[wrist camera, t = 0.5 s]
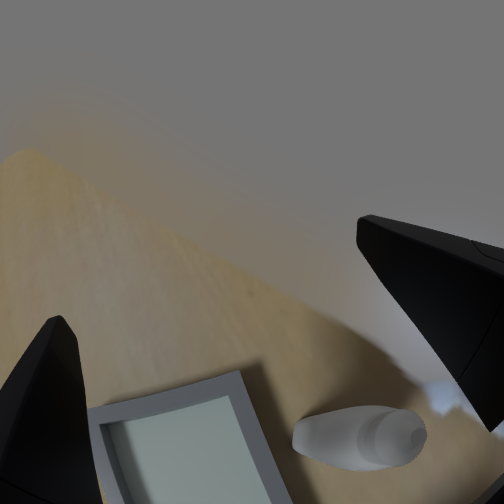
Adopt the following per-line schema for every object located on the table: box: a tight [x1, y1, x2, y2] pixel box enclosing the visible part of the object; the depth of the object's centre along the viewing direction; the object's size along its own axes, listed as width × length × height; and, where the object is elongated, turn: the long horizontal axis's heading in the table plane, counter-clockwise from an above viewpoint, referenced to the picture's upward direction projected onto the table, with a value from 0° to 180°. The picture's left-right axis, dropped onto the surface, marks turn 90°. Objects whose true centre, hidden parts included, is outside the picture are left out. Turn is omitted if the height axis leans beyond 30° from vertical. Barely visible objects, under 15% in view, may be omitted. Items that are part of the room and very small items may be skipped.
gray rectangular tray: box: [87, 370, 293, 504], centre depth 16 cm, size 13×11×2 cm
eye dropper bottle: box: [292, 405, 427, 471], centre depth 13 cm, size 4×6×12 cm
